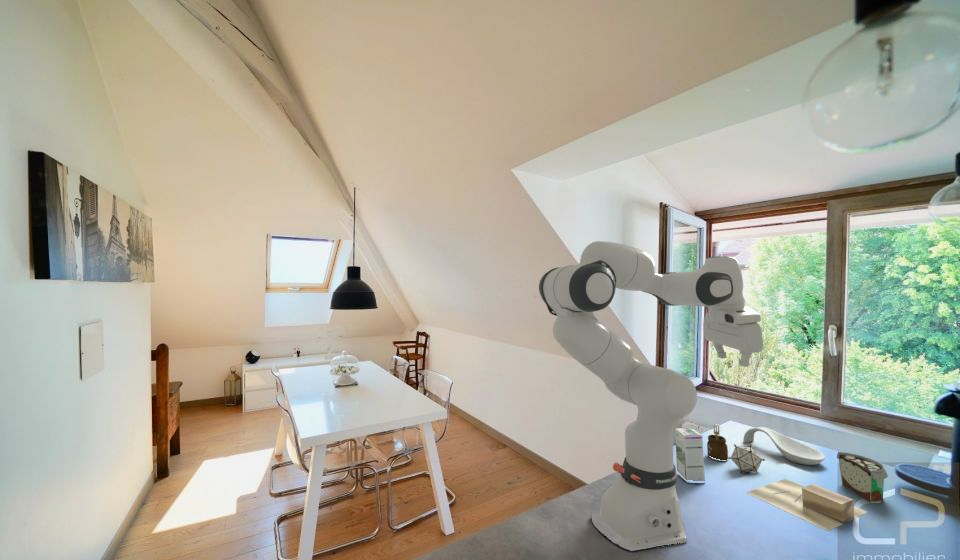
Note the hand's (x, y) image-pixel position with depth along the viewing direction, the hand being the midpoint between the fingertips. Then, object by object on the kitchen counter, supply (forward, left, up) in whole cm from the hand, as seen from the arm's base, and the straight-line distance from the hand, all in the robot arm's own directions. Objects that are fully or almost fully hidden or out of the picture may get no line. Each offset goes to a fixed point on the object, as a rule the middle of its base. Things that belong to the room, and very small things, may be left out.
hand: (732, 361), depth 101 cm
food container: (+31, -14, -38) cm, 51 cm away
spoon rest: (+41, +12, -38) cm, 57 cm away
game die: (+17, +9, -38) cm, 42 cm away
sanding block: (+11, -14, -36) cm, 41 cm away
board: (+11, -9, -38) cm, 40 cm away
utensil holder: (+18, +19, -38) cm, 46 cm away
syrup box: (-3, +13, -38) cm, 40 cm away
